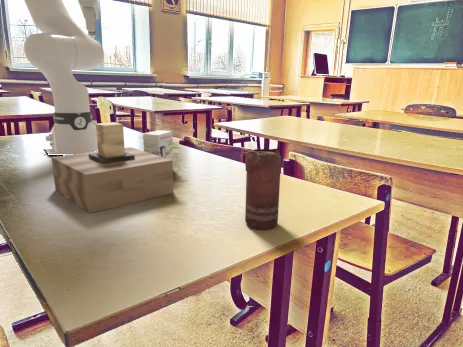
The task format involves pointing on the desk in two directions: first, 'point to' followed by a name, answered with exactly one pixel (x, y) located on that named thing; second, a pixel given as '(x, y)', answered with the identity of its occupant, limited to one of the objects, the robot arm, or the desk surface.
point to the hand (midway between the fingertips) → (91, 33)
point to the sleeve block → (112, 178)
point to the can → (262, 188)
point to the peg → (110, 139)
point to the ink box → (159, 143)
